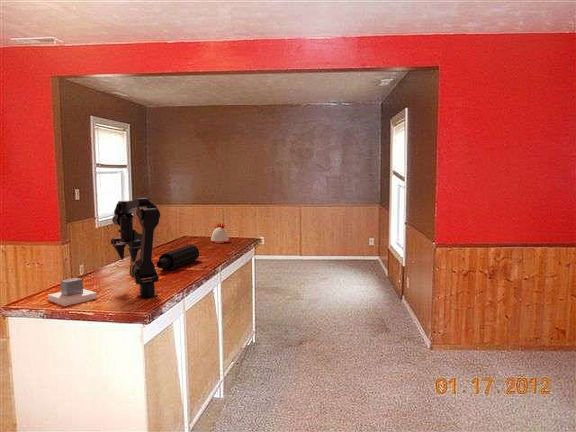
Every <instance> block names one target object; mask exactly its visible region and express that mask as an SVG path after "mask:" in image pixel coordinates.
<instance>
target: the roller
mask: <svg viewBox="0 0 576 432" xmlns="http://www.w3.org/2000/svg"><path fill="white" fill-rule="evenodd" d="M199 256H200V251H199V248H198V247H197V246H196V245H193V244H189V245H185V246H182V247H179V248H177V249H174V250H170V251H167V252H164V253H162V254H161V255H159V259H158V261H156V263H155V265H156V267H157V268H158V269H162V270H163V271H164V272H165V271H167V272H169V271H172V270H174V269H177V268H180V267H182V266H184V265H187V264H190V263H191V262H194V261H196V260H198V259H199Z"/></svg>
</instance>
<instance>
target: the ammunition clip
mask: <svg viewBox="0 0 576 432" xmlns="http://www.w3.org/2000/svg"><path fill="white" fill-rule="evenodd" d="M140 252H141V249H139V251H138V253H137V256H136V260H135V262H136V261H139V259H140ZM135 262H132V259H131V257H130V262H129V264H130V265H129V275H130V276H134V270H135Z"/></svg>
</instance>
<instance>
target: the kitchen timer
mask: <svg viewBox="0 0 576 432" xmlns="http://www.w3.org/2000/svg"><path fill="white" fill-rule="evenodd" d="M225 227H226V225H225V224H224V223H221V222H220V223H219V222H218V223H217V224H216V225H215V226H214V228H215V229H214V230H213V232H212V235H211V237H210V242H211V241H213V242H225V241H229V242H230V238H229V234H228V233H227V230H225Z"/></svg>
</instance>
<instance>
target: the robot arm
mask: <svg viewBox="0 0 576 432" xmlns="http://www.w3.org/2000/svg"><path fill="white" fill-rule="evenodd" d="M141 208H142V209H141ZM135 211H136V212H135ZM134 212H135V214H136V216H137V218H138V223H139V224H140V226H141V229H142V230H141V233H139V232H138V231H137V230H136V229H134V217H135V216H134V215H133V213H134ZM113 214H114V215H113V216H112V223H113V225H114V226H116V227H117V226H118V227H120V228H119V229H118V233H120V237H119V236H118V237H114V238H111V239H110V244H111V245H112V247H113V248H114V250H115V251H116V253H117V254H118V256H119V258H120V259H121V260H124V258H125V248H126V246H127V245H128V248H127V249H128V252H129V255H130V258H131V259H132V262H135V260H136V256H137V253H138V251H139V250H141V252H140V259H139V261H136V262H135V270H134V275H133V276H134V282H135V284H136V285H139V294H138V295H137V296H136V297H137V298H141V299H144V300H146V299H151V298H155V297H158V293H155V292H156V289H155V287H156V286H155V283H158V282H159V278H160V277H159V275H158V273H157V271H156V267H155V265H156V264H154V262H153V260H152V259H153V247H154V246H153V244H154V233H155V228H157V227H158V225H159V224H160V219H161V211H160V210H159V208H158V206H157V205H156V204H154V203H153V202H152V201H150V199H149V198H147V197H138V198H136V199H132V200H119V201H117V204H116V206H115V209H114V210H113Z"/></svg>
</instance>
